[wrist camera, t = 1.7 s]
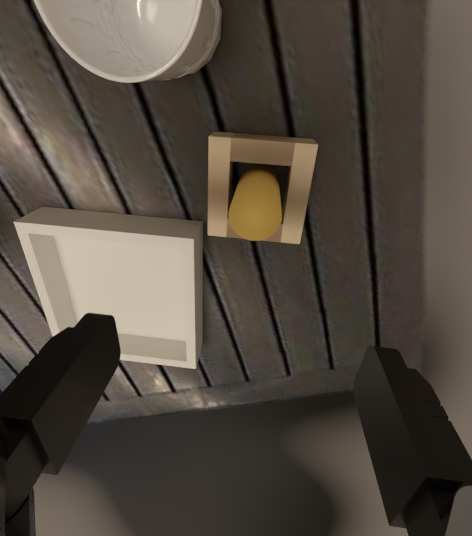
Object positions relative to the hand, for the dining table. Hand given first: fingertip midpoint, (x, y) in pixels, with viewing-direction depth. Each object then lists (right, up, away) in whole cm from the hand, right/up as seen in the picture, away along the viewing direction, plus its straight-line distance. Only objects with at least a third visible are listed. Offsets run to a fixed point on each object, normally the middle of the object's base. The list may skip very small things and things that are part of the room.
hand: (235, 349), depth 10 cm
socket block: (+2, +10, +17) cm, 20 cm away
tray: (-12, +1, +24) cm, 26 cm away
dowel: (+2, +10, +17) cm, 20 cm away
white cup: (-4, +20, +12) cm, 24 cm away
